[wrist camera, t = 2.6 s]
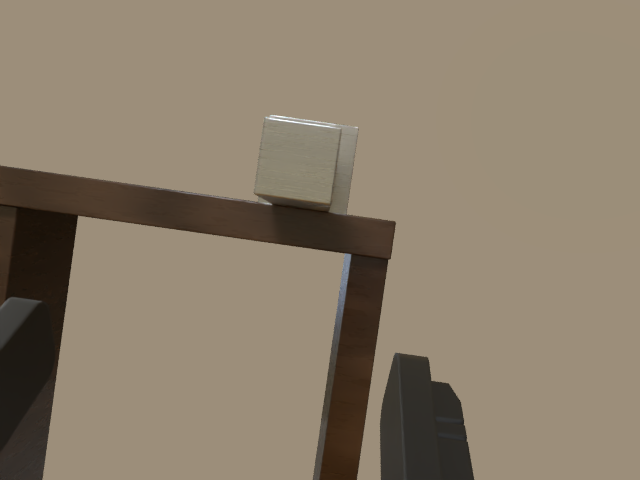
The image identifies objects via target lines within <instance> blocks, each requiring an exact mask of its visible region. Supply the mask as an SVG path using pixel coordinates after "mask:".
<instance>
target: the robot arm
mask: <svg viewBox="0 0 640 480" xmlns="http://www.w3.org/2000/svg"><path fill="white" fill-rule="evenodd" d="M55 360H56V349H55V342H54V335H53V329H52V322H51V315H50V309H49V306H48V304H47V303H46V302H44V301H37V300H30V299H23V298H16V297H11V298H9V299H7V300H6V301H5V302H4V303H3V304H2V306H1V307H0V453H1V451H2V450H3V448H4V447H5V445H6V444H7V442H8V441H9V439H10V438H11V436H12V435H13V433H14V432H15V430H16V429H17V427H18V426H19V424H20V423H21V421H22V420H23V418H24V416H25V415H26V413H27V412H28V410H29V409H30V407H31V406H32V404H33V403H34V401H35V400H36V398H37V397H38V395H39V394H40V392H41V391H42V389H43V388H44V386H45V385H46V383H47V382H48V380H49V378H50V376H51V374H52V372H53V369H54V365H55ZM380 444H381V445H380V449H381V480H474V476H473V470H472V465H471V459H470V453H469V447H468V442H467V435H466V430H465V426H464V418H463V412H462V407H461V402H460V400H459V399H458V397H457V396H456V394H455V393H454V391H453V390H452V388H451V387H450V385H449V384H448V383H442V382H435V381H431V374H430V366H429V360H428V358H427V357H421V356H415V355H407V354H400V353H395V355H394V358H393V362H392V366H391V370H390V374H389V378H388V382H387V386H386V390H385V394H384V398H383V403H382V410H381V420H380Z"/></svg>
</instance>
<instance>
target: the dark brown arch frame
mask: <svg viewBox="0 0 640 480" xmlns="http://www.w3.org/2000/svg"><path fill="white" fill-rule="evenodd" d="M78 216H85V217H92V218H99V219H106V220H113V221H120V222H127V223H134V224H141V225H148V226H155V227H162V228H169V229H176V230H184V231H190V232H197V233H205V234H212V235H219V236H226V237H233V238H240V239H247V240H254V241H261V242H268V243H275V244H282V245H289V246H296V247H303V248H311V249H318V250H325V251H332V252H339V253H345V257H344V264H343V271H342V278H341V285H340V292H339V299H338V307H337V314H336V320H335V327H334V335H333V341H332V348H331V356H330V363H329V370H328V377H327V384H326V391H325V398H324V405H323V412H322V419H321V426H320V434H319V441H318V447H317V454H316V461H315V468H314V475H313V480H357V474H358V467H359V460H360V453H361V446H362V439H363V432H364V425H365V418H366V411H367V404H368V397H369V390H370V384H371V376H372V370H373V362H374V356H375V349H376V342H377V335H378V328H379V321H380V314H381V307H382V300H383V293H384V285H385V279H386V272H387V265H388V260H389V259H391V253H392V246H393V239H394V232H395V225H396V223H395V221H388V220H381V219H374V218H367V217H359V216H353V215H346V214H339V213H332V212H325V211H318V210H311V209H303V208H296V207H289V206H282V205H275V204H268V203H261V202H254V201H246V200H240V199H233V198H226V197H219V196H211V195H204V194H197V193H190V192H183V191H176V190H169V189H162V188H155V187H147V186H141V185H134V184H127V183H119V182H113V181H106V180H99V179H91V178H84V177H77V176H70V175H63V174H56V173H48V172H41V171H35V170H27V169H21V168H14V167H7V166H0V307H1V306H2V304H3V303H4V302H5V301H6V300H7V299H9V298H11V297H16V298H23V299H30V300H37V301H44V302H46V303H47V304H48V306H49V309H50V315H51V322H52V329H53V335H54V342H55V349H56V360H55V365H54V369H53V372H52V374H51V376H50V378H49V380H48V382H47V383H46V385H45V386H44V388H43V389H42V391H41V392H40V394H39V395H38V397H37V398H36V400H35V401H34V403H33V404H32V406H31V407H30V409H29V410H28V412H27V413H26V415H25V416H24V418H23V420H22V421H21V423H20V424H19V426H18V427H17V429H16V430H15V432H14V433H13V435H12V436H11V438H10V439H9V441H8V442H7V444H6V445H5V447H4V448H3V450H2V451H1V453H0V480H42V478H43V470H44V463H45V456H46V449H47V441H48V434H49V426H50V419H51V412H52V404H53V397H54V389H55V382H56V375H57V367H58V360H59V352H60V345H61V337H62V330H63V322H64V314H65V308H66V301H67V293H68V286H69V278H70V270H71V264H72V256H73V248H74V241H75V234H76V227H77V219H78Z"/></svg>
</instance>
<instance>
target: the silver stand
mask: <svg viewBox="0 0 640 480" xmlns="http://www.w3.org/2000/svg"><path fill="white" fill-rule="evenodd" d="M358 130H359V128H358V127H354V126H346V125H338V124H332V123H325V122H318V121H311V120H304V119H297V118H290V117H283V116H276V115H270V117H265V118H264V123H263V131H262V138H261V145H260V152H259V159H258V167H257V174H256V181H255V188H254V194H255V195H257V196H259V198H258V202H261V203H268V204H275V205H282V206H289V207H296V208H303V209H311V210H318V211H325V212H332V213H339V214H347V207H348V200H349V193H350V185H351V179H352V172H353V165H354V158H355V151H356V144H357V137H358Z"/></svg>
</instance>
